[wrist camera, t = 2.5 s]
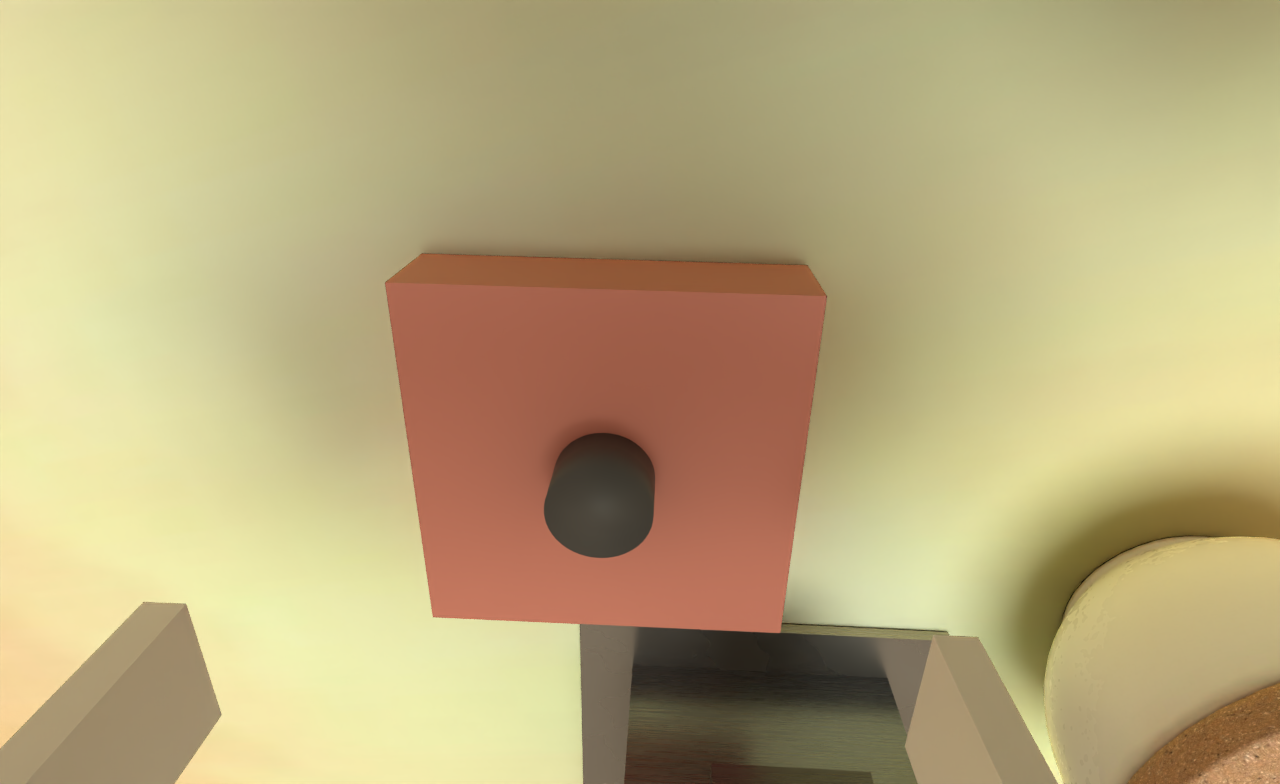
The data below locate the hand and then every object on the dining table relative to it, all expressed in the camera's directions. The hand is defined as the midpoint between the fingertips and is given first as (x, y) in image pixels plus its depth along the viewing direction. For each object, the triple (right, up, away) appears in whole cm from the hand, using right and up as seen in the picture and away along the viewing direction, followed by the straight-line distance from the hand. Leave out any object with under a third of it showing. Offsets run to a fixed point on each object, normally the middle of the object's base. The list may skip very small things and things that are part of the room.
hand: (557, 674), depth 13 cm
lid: (+1, +4, +8) cm, 9 cm away
